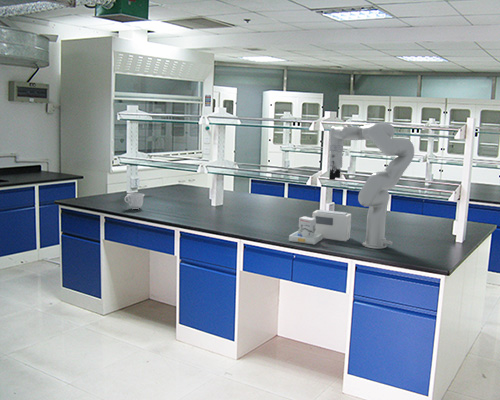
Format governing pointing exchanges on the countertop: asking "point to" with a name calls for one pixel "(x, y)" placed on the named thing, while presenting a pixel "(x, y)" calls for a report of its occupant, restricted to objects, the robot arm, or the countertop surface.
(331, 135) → the robot arm
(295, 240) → the tray
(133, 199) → the teacup
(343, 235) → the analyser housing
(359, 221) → the countertop surface
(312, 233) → the ink box
